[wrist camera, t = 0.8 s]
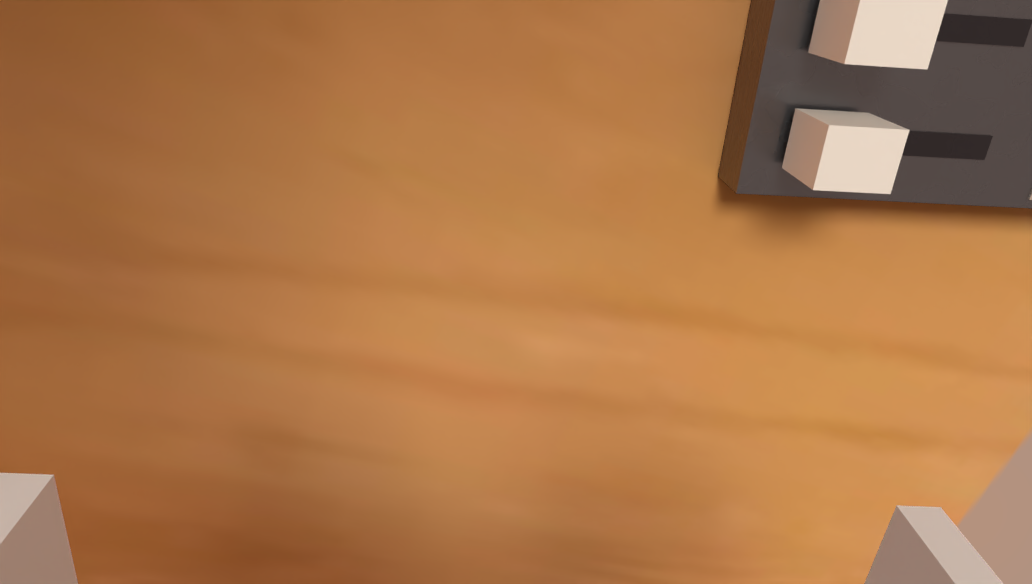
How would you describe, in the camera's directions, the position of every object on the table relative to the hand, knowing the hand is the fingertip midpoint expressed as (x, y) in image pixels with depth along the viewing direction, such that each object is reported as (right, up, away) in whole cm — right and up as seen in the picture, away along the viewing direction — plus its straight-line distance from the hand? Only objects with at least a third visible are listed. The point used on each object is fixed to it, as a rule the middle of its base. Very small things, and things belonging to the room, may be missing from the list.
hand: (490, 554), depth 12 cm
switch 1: (+13, +14, +16) cm, 25 cm away
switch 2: (+13, +10, +18) cm, 24 cm away
